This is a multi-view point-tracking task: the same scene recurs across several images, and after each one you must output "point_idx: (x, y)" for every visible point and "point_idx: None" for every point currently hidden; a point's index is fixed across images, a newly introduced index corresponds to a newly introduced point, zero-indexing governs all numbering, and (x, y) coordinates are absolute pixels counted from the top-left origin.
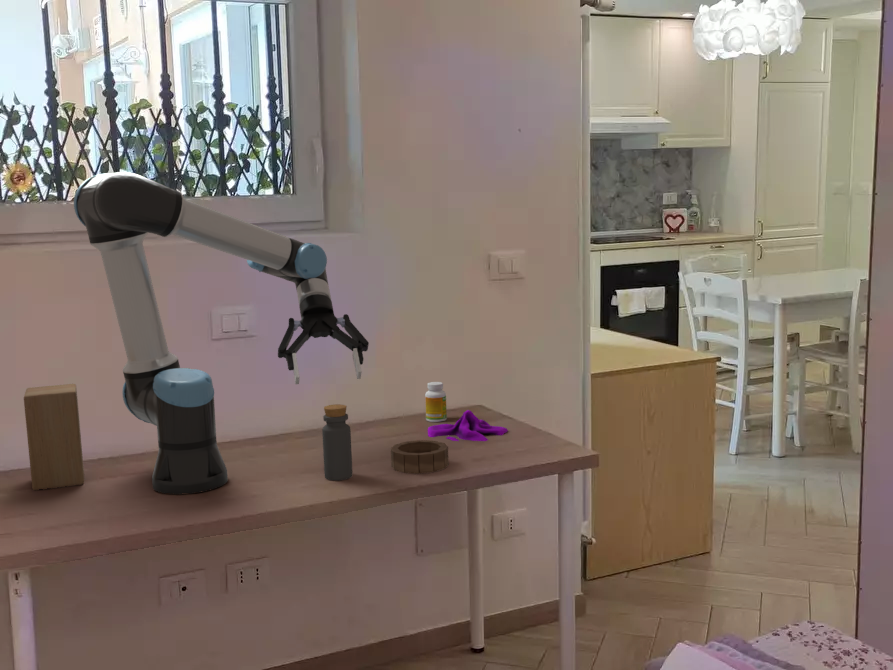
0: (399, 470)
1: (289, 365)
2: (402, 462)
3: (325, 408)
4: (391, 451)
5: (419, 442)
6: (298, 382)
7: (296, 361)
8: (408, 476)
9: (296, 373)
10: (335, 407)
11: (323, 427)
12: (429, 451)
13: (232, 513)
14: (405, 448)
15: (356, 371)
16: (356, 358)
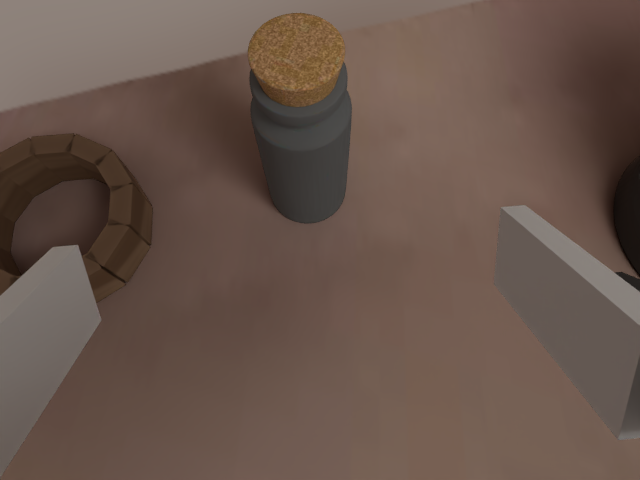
0: (141, 189)
1: (629, 278)
2: (125, 167)
3: (338, 32)
4: (133, 216)
5: (17, 277)
6: (499, 266)
7: (581, 271)
8: (132, 147)
9: (533, 218)
10: (296, 35)
11: (347, 103)
12: (9, 272)
13: (542, 5)
14: None
15: (75, 321)
16: (4, 311)
